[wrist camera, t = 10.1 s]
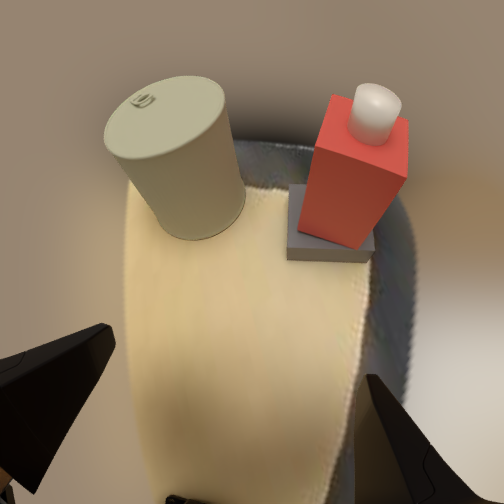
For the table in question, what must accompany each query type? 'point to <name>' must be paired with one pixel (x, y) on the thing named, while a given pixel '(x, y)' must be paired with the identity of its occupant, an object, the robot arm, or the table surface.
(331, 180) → the ketchup bottle
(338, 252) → the grey box
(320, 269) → the table surface
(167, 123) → the can
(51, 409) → the robot arm
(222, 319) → the table surface
